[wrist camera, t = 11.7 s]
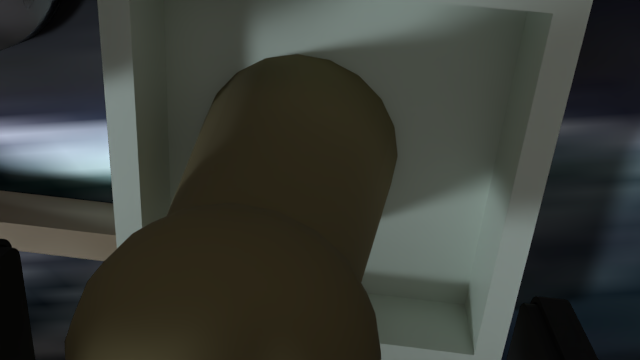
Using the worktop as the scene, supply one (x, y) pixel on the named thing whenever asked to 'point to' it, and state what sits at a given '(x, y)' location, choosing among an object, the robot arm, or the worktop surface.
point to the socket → (58, 225)
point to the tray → (410, 130)
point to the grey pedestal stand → (24, 19)
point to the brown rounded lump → (256, 230)
